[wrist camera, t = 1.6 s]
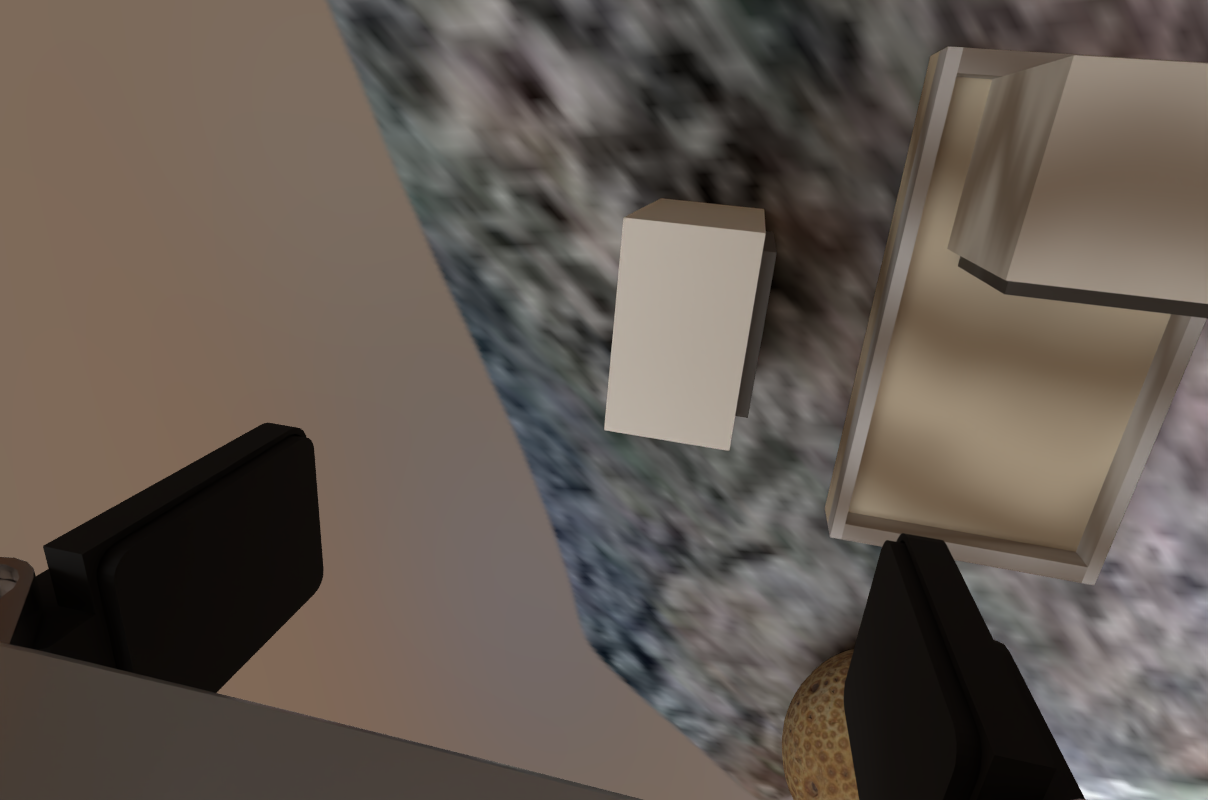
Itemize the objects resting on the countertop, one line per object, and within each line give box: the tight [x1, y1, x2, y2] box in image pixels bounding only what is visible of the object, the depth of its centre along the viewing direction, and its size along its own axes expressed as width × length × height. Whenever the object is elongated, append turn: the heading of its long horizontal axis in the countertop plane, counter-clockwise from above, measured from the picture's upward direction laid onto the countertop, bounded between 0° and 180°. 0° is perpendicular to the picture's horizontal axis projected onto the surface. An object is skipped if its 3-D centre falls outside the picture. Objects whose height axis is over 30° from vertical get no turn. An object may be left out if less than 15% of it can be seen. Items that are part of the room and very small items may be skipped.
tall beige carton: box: [604, 198, 777, 451], centre depth 27 cm, size 5×8×9 cm, turn 175°
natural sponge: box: [782, 649, 859, 800], centre depth 31 cm, size 9×9×10 cm
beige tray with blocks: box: [825, 47, 1208, 585], centre depth 25 cm, size 20×11×8 cm, turn 174°
